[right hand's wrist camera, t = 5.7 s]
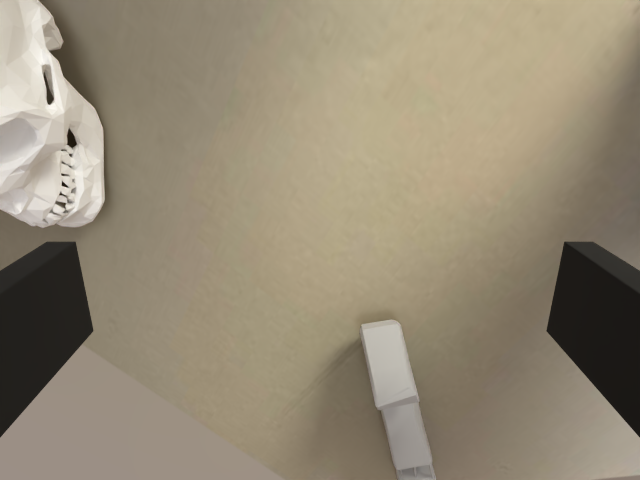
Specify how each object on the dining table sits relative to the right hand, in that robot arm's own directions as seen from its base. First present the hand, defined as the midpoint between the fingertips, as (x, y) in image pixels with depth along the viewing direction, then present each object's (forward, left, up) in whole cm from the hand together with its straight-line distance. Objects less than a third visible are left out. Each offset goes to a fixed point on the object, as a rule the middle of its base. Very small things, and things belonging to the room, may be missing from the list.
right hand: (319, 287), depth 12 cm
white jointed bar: (+26, 0, -25) cm, 36 cm away
